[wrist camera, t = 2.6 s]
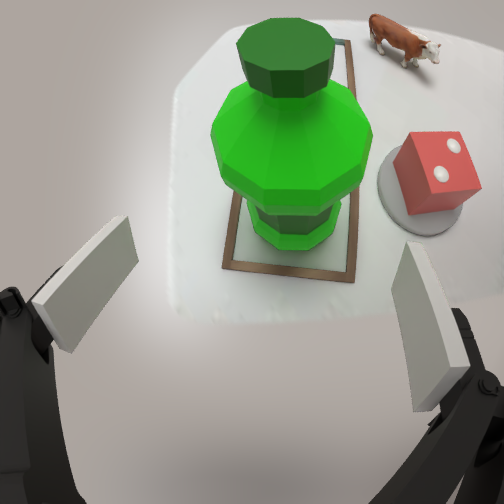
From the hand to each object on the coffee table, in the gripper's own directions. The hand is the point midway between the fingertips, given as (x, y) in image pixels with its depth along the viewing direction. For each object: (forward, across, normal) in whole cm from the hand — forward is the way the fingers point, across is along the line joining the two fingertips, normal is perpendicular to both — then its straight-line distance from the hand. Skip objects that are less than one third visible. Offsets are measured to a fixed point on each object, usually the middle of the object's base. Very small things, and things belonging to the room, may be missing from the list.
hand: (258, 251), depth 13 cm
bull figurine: (+42, +17, +13) cm, 47 cm away
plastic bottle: (+20, +1, -9) cm, 22 cm away
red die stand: (+24, +17, -5) cm, 30 cm away
